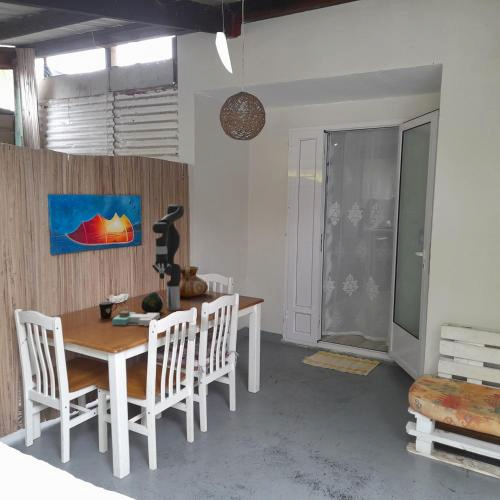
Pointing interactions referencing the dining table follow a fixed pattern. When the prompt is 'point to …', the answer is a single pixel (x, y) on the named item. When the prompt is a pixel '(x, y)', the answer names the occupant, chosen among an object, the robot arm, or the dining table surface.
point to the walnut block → (124, 313)
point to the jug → (191, 283)
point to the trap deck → (136, 319)
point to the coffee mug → (106, 309)
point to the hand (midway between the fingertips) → (162, 278)
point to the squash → (152, 303)
